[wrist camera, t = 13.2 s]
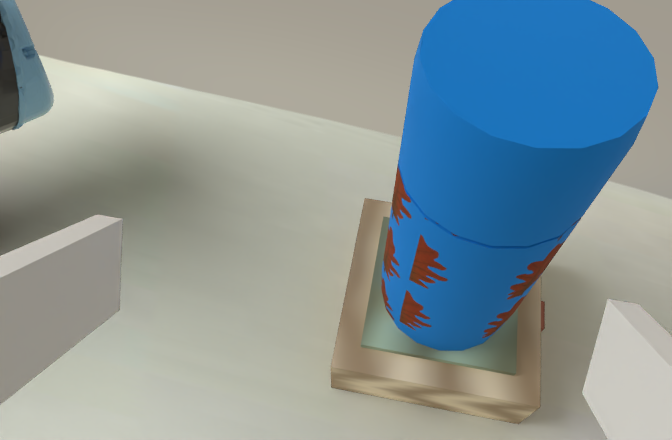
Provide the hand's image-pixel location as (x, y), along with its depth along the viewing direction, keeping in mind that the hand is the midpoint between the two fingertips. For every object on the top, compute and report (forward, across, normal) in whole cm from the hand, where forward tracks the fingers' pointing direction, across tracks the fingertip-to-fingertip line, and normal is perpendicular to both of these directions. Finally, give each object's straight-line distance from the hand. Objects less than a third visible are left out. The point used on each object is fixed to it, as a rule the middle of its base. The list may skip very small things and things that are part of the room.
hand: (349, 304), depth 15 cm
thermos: (+31, +6, -10) cm, 33 cm away
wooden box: (+35, +6, -15) cm, 39 cm away
